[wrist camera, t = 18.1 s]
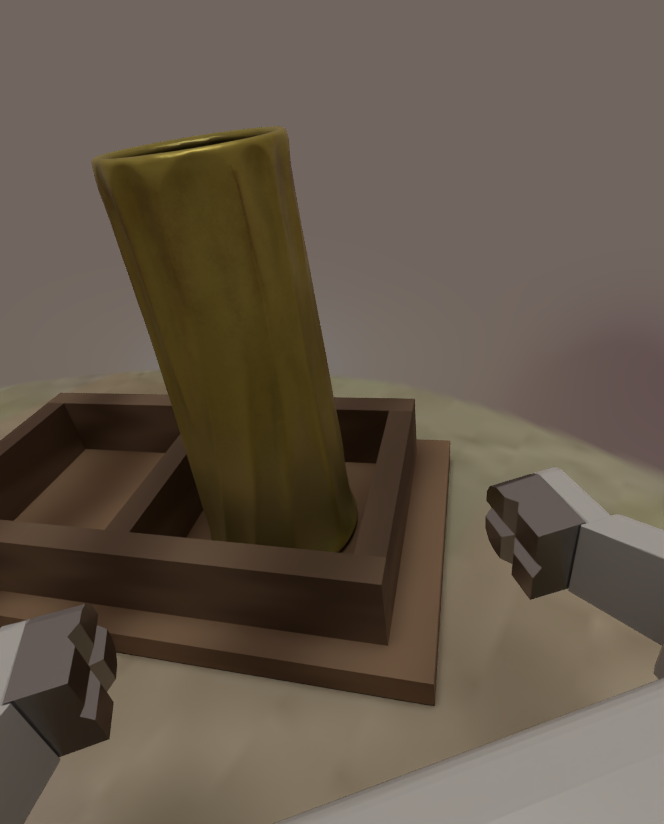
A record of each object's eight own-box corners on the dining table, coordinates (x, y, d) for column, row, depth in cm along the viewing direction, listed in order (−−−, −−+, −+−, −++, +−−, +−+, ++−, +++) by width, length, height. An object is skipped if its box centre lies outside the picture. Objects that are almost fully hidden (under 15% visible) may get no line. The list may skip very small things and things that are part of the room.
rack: (-101, 615, 21) (-166, 546, 19) (79, 442, 31) (49, 383, 29) (434, 705, 16) (432, 622, 13) (449, 460, 25) (450, 387, 23)
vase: (192, 516, 22) (55, 159, 15) (310, 457, 25) (246, 125, 17) (252, 612, 18) (99, 168, 10) (388, 527, 20) (350, 120, 13)
